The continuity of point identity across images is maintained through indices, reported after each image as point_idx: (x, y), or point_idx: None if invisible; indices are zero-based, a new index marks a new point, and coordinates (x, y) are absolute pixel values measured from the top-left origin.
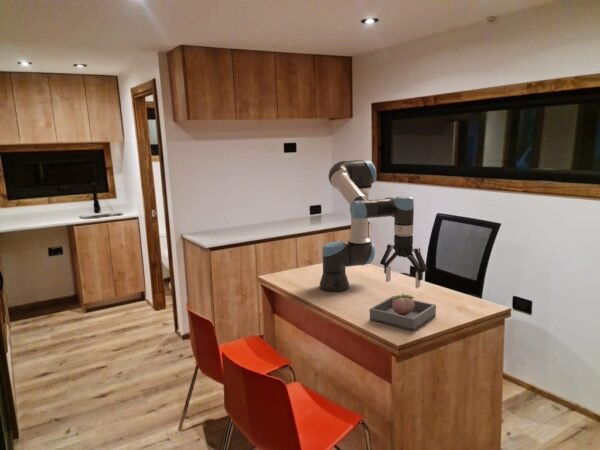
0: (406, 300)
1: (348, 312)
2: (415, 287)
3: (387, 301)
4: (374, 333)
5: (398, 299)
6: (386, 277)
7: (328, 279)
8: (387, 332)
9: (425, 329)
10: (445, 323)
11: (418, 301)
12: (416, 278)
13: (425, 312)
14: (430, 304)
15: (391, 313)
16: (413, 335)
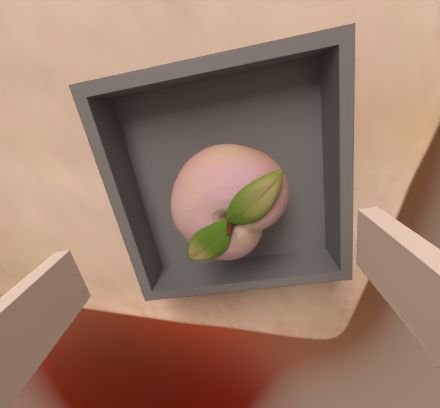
0: (263, 227)
1: None
2: (360, 267)
3: (115, 175)
4: (243, 329)
5: (228, 256)
6: (57, 330)
7: None
8: (267, 303)
9: (358, 208)
10: (406, 94)
11: (237, 56)
12: (436, 346)
13: (351, 171)
14: (324, 47)
15: (242, 287)
16: None
